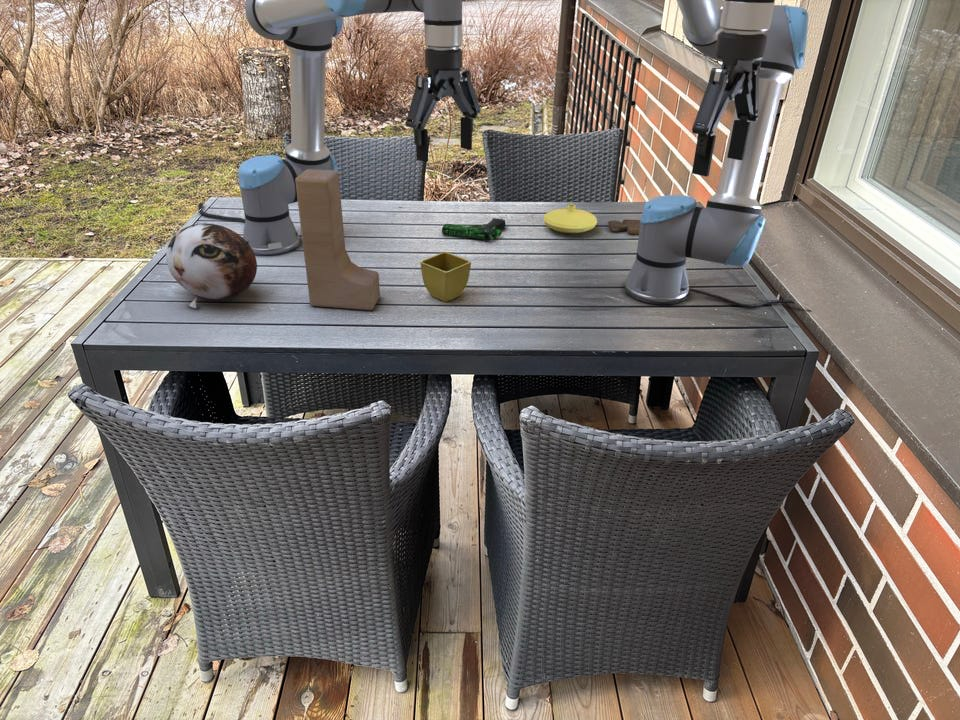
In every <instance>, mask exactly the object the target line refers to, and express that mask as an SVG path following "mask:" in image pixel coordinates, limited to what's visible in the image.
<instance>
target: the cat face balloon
mask: <svg viewBox="0 0 960 720" xmlns="http://www.w3.org/2000/svg"><path fill="white" fill-rule="evenodd" d="M248 242H249V241H246V240H245V239H244V238H243V236H242V235H240V234H239V233H238V232H236V231H234V230H233V229H231V228H229V227H226V226H223V225H220V224H215V223H205V222H204V223H195V224H191V225H188V226H186V227H183V228H182V229H180V230H179V231H177V232H176V233H175V234H174V235H173V237H171V239H170V241H169V243H168V245H167V248H166V254H165V260H166V265H167V268H168V271H169V273H170V275H171V276H172V277H173V279H174V280H175V281H176V282H177V284H178V285H180V286H181V287H182V288H183V289H185V290H186V291H187V292H189V293H191V294H194V295H195V298H194V299H193V300H192V302H190V303H189V304H188V306H189V307H191V308H192V309H197V308H198V307H197V298H198V297H201V298H205V299H210V300H226V299H230V298H233V297H236V296H238V295H241V294H242V293H244V292H245V291H247V290H248V289H249V288H250V286H251V285H252V284H253V282H254V280H255V278H256V275H257V271H258V262H257V257H256V254H254V252H253V250H252V248H251V247H250V245H249V244H248Z"/></svg>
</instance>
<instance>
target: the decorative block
mask: <svg viewBox="0 0 960 720" xmlns="http://www.w3.org/2000/svg"><path fill="white" fill-rule="evenodd" d="M295 182H296V191H297V199H298V202H297V208H298V214H299V223H300V232H301V241H302V249H303V257H304V265H305V274H306V283H307V290H308V297H309V304H310V306H312V307H323V308H324V307H325V308H337V309H350V310H351V309H352V310H363V311H371V310H373V309H374V307H375V306H376V304H377V302H378V301H379V299H380V297H381V290H380V289H381V287H380V274H379V271H377V270H372V269H369V268H363V267H360V266H359V265H357V264H356V263H354V262H352V260H351V258H350V256H349V253H348V252H347V249H346V242H345V230H344V218H343V207H342V206H343V205H342V197H341V185H340V174H339V170H338V171H334V170H315V169H307V170H305V171H304V172H303V173H301V174H300V175H299V176H298V177H297V178H296V179H295Z"/></svg>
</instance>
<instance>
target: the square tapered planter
mask: <svg viewBox="0 0 960 720" xmlns="http://www.w3.org/2000/svg"><path fill="white" fill-rule="evenodd" d="M419 264H420V271H421V276H422V281H423V284H424V286H425V289H426V291H427V292H428V293H429V295H430V296H431V297H433V298H435V299H438V300H440V301H442V302H445V303H446V302H449V301H451V300H454V299H456V298H458V297H460V296H461V295H462V294H463V292H464V291H465V289H466V287H467V285H468V282H469V279H470V272H471V267H472V261H470V260H469V259H466V258H463V257H461V256H458V255H455V254H453V253H451V252H447V251H442V252H440V253H438V254H435V255H433V256H431V257H428V258H425V259H423V260H421V261H420V262H419Z"/></svg>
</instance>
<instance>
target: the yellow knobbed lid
mask: <svg viewBox="0 0 960 720" xmlns="http://www.w3.org/2000/svg"><path fill="white" fill-rule="evenodd" d="M543 222H544V225H545V226H546V227H548V228H550V229H551V230H554V231H556V232H559V233H564V234H580V233H584V232H585V233H586V232H587V231H591V230H592V229H594V228H596V226H597V223H598V219H597V217H596V215H595V214H593V213H591V212H589V211H587V210H584V209H578V208H576V205H575V204H571V203H570V204H567V208H557V209H552V210H549V211H548V212H547V213H545V214H544V216H543Z"/></svg>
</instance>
